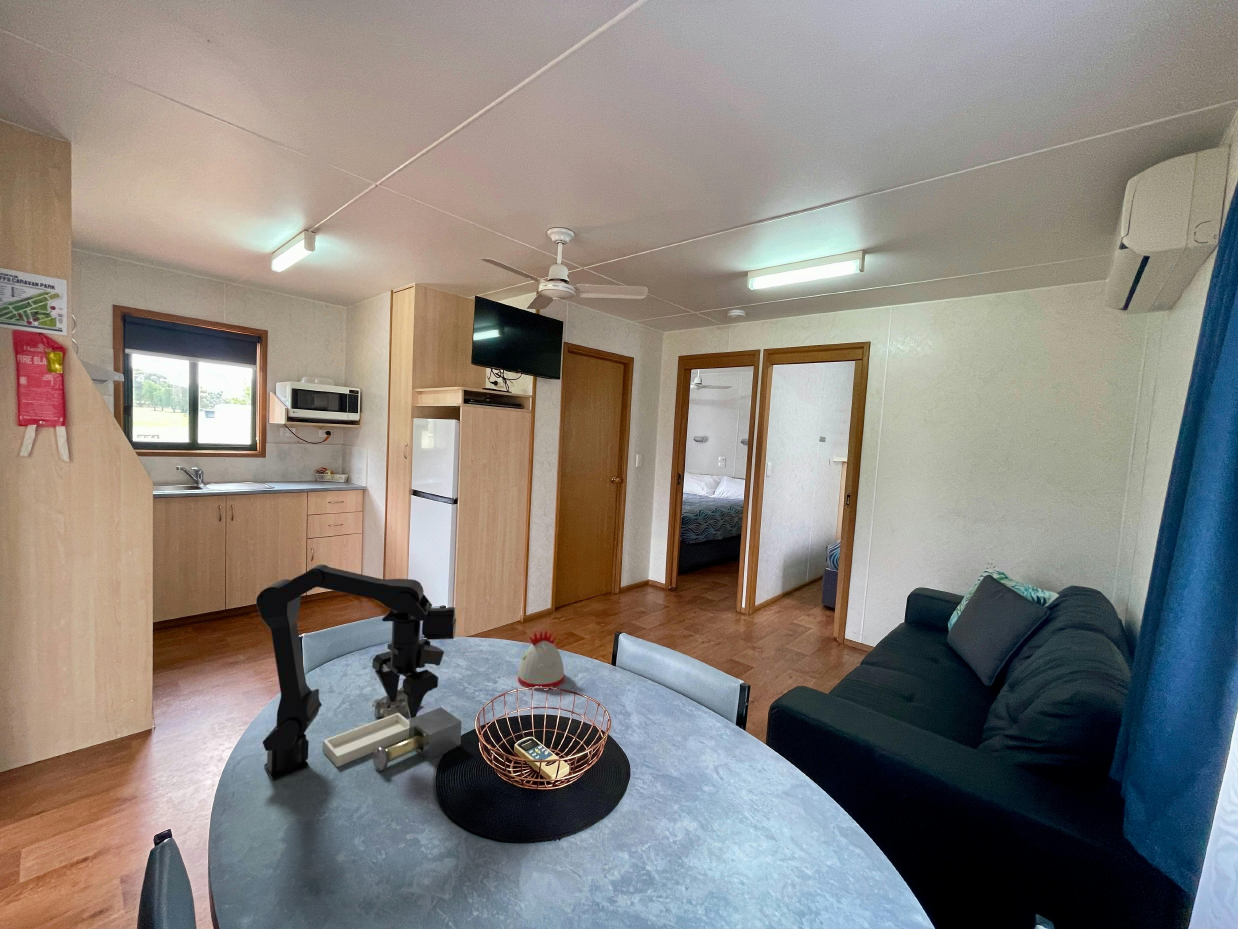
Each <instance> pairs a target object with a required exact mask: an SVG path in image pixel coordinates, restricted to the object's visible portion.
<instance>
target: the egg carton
mask: <svg viewBox="0 0 1238 929" xmlns="http://www.w3.org/2000/svg"><path fill="white" fill-rule="evenodd" d="M402 691H404V689H403V685H402V686H401V687H400V688H398V691H397V697H396V701H395V702H390V700H389V698H388V696H387V695H384V696H383V697H381V698H377V699H374V701H373V703H372V704H371V708H374V717H375V718H379V717H381V718H382V717H383V718H385V717H388V716H391V715H393V714H396V713H399V714H401V715H405V714H406V713H408V710H407V706H406V703H405V700H404V696H403V693H402ZM388 706H389V708H388Z"/></svg>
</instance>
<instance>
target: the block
mask: <svg viewBox="0 0 1238 929" xmlns="http://www.w3.org/2000/svg"><path fill="white" fill-rule="evenodd" d="M408 721H409V737H408V739H410V738H413V737H415V736H418V735H420V734H422V733H423V734H424V746H423V748H420V749H418V750H416V751H415V752H417V753H419V754H420V755H421V756H422V757H423V758H424V759H426V760H427V761H428V762H429V761H431V760H433V759H435V758H438V757H439V756H442V755H444V754H446V753H448V751H449V750H451V749H452V748H455V747H456V746H459V745H460V744H462V742H461V741H462V724H463V723H462V720H460V719H459V718H457V717H456V716H454V715H453V714H452V713H450V712H449V711H448V710H446V709H445V708H443V707H441V706H440V707H438V708H436V709H433V710H430V711H428V712H425V713H422V714H420V715H416V717H414V718H409V720H408ZM459 747H460V746H459ZM455 749H456V748H455ZM451 751H452V750H451ZM449 752H450V751H449Z"/></svg>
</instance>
